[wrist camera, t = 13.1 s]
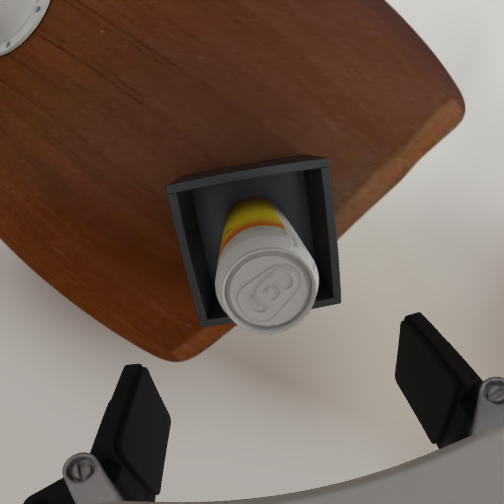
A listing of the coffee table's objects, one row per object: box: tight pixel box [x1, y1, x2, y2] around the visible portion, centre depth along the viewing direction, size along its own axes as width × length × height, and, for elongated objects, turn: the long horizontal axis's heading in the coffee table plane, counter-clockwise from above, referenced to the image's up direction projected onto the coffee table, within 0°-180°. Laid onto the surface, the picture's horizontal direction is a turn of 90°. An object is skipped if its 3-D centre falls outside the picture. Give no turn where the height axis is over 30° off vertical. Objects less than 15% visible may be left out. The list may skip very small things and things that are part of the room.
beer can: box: [215, 197, 319, 334], centre depth 25 cm, size 6×6×15 cm
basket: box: [166, 155, 341, 327], centre depth 29 cm, size 12×12×8 cm
